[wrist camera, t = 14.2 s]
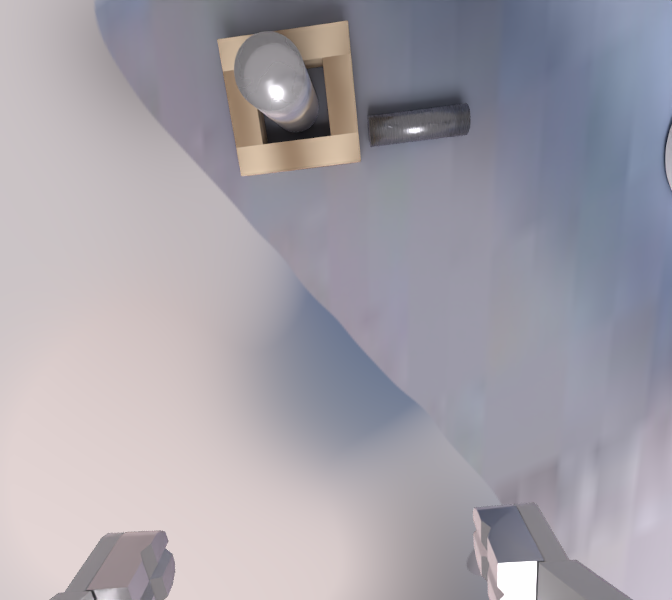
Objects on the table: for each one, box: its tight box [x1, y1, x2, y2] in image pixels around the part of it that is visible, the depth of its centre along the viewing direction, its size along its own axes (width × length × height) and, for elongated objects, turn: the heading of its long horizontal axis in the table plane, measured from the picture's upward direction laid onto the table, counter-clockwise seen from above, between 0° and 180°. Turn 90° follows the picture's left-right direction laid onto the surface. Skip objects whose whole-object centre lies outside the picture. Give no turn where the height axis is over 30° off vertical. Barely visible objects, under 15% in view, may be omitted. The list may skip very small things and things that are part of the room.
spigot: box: [234, 31, 319, 132], centre depth 28 cm, size 4×4×12 cm
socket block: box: [217, 21, 361, 176], centre depth 33 cm, size 10×10×2 cm
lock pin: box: [368, 103, 470, 147], centre depth 33 cm, size 8×2×2 cm, turn 97°
